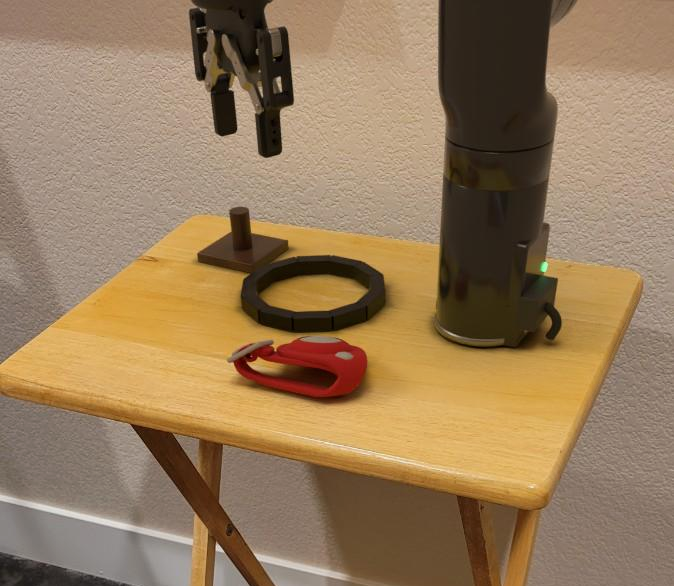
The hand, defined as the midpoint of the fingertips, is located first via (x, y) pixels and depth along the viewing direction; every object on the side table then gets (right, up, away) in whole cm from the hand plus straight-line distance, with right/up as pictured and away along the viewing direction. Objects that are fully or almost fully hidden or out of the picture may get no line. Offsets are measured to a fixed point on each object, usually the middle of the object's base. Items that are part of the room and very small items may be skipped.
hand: (247, 144), depth 85 cm
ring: (+6, -12, +7) cm, 16 cm away
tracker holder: (+6, -23, -4) cm, 24 cm away
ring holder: (-2, -4, +16) cm, 17 cm away
